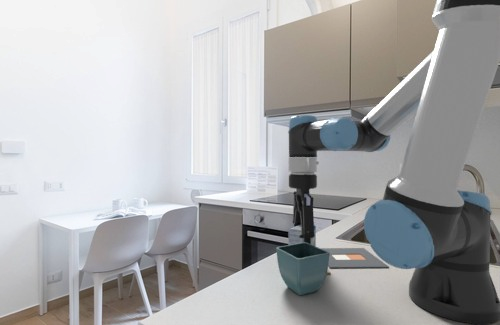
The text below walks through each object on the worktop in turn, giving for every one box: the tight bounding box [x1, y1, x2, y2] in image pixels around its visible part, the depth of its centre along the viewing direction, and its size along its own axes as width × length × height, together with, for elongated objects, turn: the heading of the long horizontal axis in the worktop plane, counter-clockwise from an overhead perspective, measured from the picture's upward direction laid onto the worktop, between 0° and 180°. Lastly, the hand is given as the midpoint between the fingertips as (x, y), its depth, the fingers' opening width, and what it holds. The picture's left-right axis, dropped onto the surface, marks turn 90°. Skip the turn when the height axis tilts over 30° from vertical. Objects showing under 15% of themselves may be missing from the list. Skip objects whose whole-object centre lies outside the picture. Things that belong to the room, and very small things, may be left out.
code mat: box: [319, 247, 390, 269], centre depth 85 cm, size 16×16×1 cm
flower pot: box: [275, 242, 330, 296], centre depth 64 cm, size 9×9×9 cm
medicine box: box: [288, 224, 317, 247], centre depth 78 cm, size 8×4×9 cm, turn 143°
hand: (302, 256), depth 78 cm, fingers closed on medicine box, 9 cm apart
